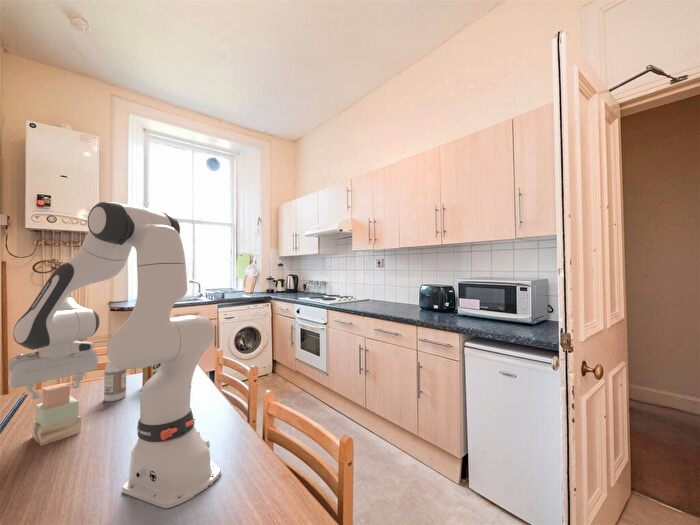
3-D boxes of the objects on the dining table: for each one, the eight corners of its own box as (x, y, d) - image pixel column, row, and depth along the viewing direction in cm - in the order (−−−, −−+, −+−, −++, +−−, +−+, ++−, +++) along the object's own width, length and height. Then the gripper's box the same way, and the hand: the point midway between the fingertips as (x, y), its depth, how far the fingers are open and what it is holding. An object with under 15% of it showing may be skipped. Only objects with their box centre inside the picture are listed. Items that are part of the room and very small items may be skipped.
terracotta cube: (69, 402, 96) (69, 386, 96) (47, 408, 92) (48, 391, 92) (64, 398, 98) (64, 383, 99) (42, 404, 94) (43, 388, 94)
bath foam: (120, 401, 119) (121, 350, 120) (100, 402, 118) (101, 351, 118) (129, 394, 126) (130, 345, 126) (110, 395, 124) (111, 346, 125)
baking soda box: (148, 390, 130) (148, 353, 130) (142, 386, 134) (143, 350, 134) (171, 383, 137) (172, 348, 138) (165, 380, 141) (166, 346, 142)
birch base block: (80, 432, 96) (80, 416, 96) (41, 446, 89) (41, 429, 89) (70, 425, 101) (70, 409, 101) (32, 437, 93) (32, 421, 94)
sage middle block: (78, 417, 96) (78, 401, 96) (43, 428, 90) (43, 411, 90) (69, 410, 101) (70, 395, 101) (35, 420, 94) (36, 404, 94)
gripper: (11, 358, 85) (9, 408, 84) (100, 343, 102) (99, 384, 102) (5, 354, 88) (3, 402, 88) (92, 340, 106) (91, 380, 105)
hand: (56, 392), depth 95 cm, fingers open, 8 cm apart
